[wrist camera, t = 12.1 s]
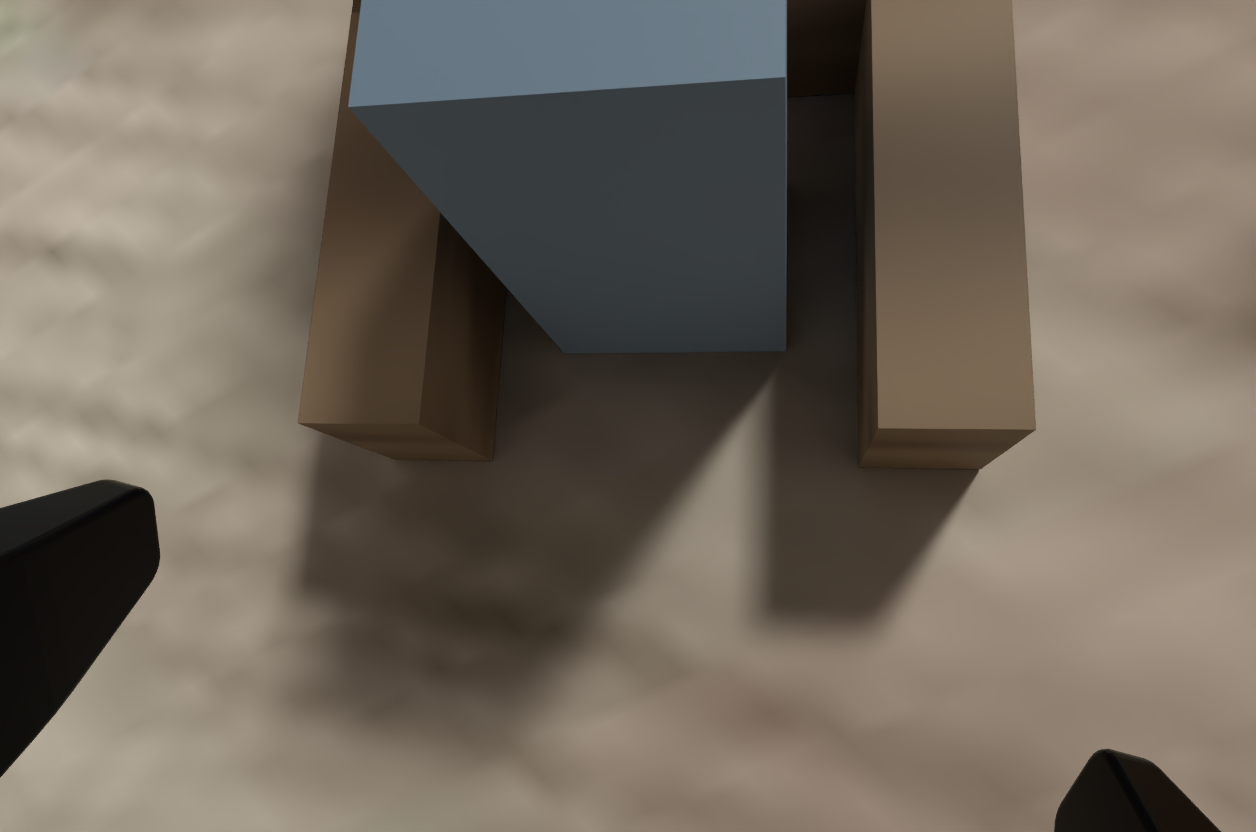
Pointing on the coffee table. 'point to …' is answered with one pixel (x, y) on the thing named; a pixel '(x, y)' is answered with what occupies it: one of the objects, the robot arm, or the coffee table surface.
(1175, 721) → the coffee table surface
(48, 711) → the robot arm
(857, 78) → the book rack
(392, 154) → the rectangular block
